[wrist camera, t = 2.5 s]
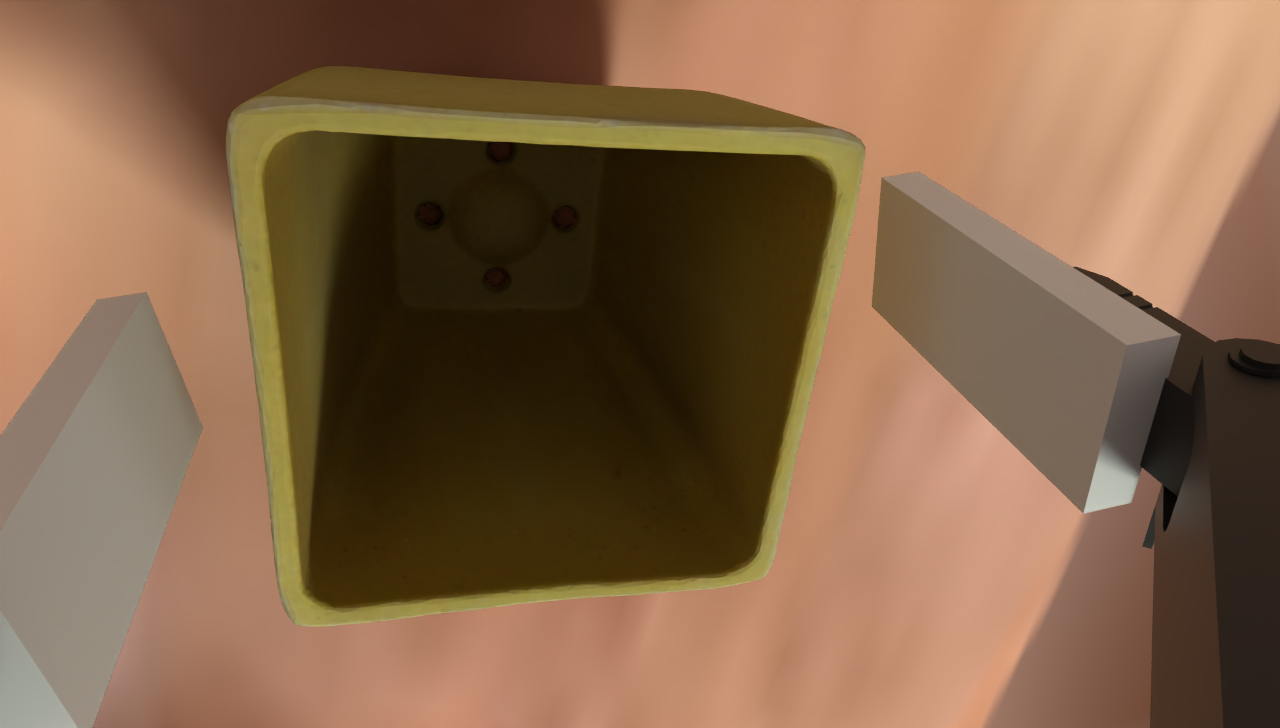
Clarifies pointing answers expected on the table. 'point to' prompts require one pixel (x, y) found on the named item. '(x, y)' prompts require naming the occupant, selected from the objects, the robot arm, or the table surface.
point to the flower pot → (528, 334)
